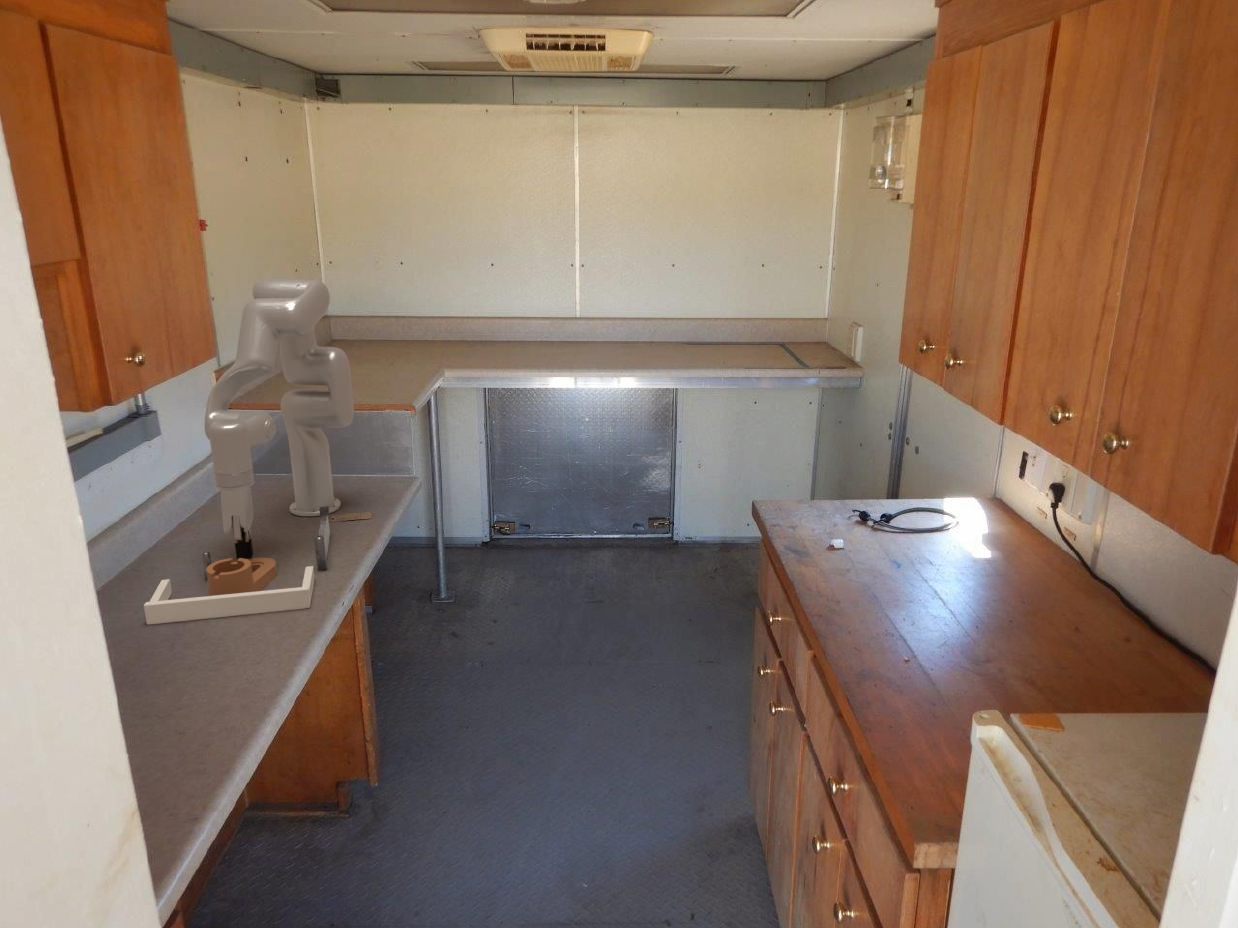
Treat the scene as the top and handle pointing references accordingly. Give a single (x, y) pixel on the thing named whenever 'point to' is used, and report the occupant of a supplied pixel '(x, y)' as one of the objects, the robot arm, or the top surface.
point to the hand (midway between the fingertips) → (245, 557)
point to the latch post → (206, 561)
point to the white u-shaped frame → (226, 602)
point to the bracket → (240, 575)
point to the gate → (325, 526)
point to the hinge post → (320, 553)
